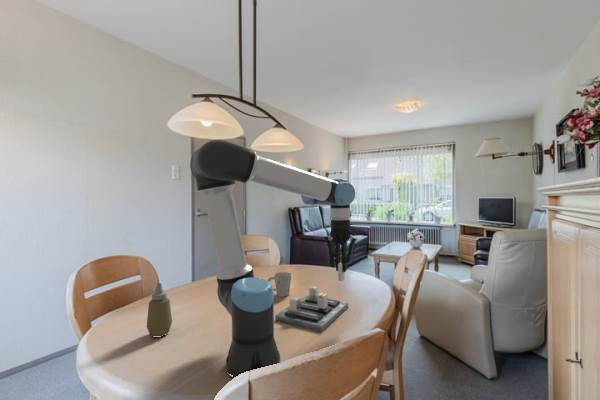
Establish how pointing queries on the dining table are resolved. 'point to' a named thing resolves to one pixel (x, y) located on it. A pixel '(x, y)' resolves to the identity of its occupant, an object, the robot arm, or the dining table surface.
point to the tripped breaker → (322, 300)
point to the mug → (282, 283)
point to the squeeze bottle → (159, 313)
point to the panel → (311, 312)
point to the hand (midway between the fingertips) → (341, 279)
